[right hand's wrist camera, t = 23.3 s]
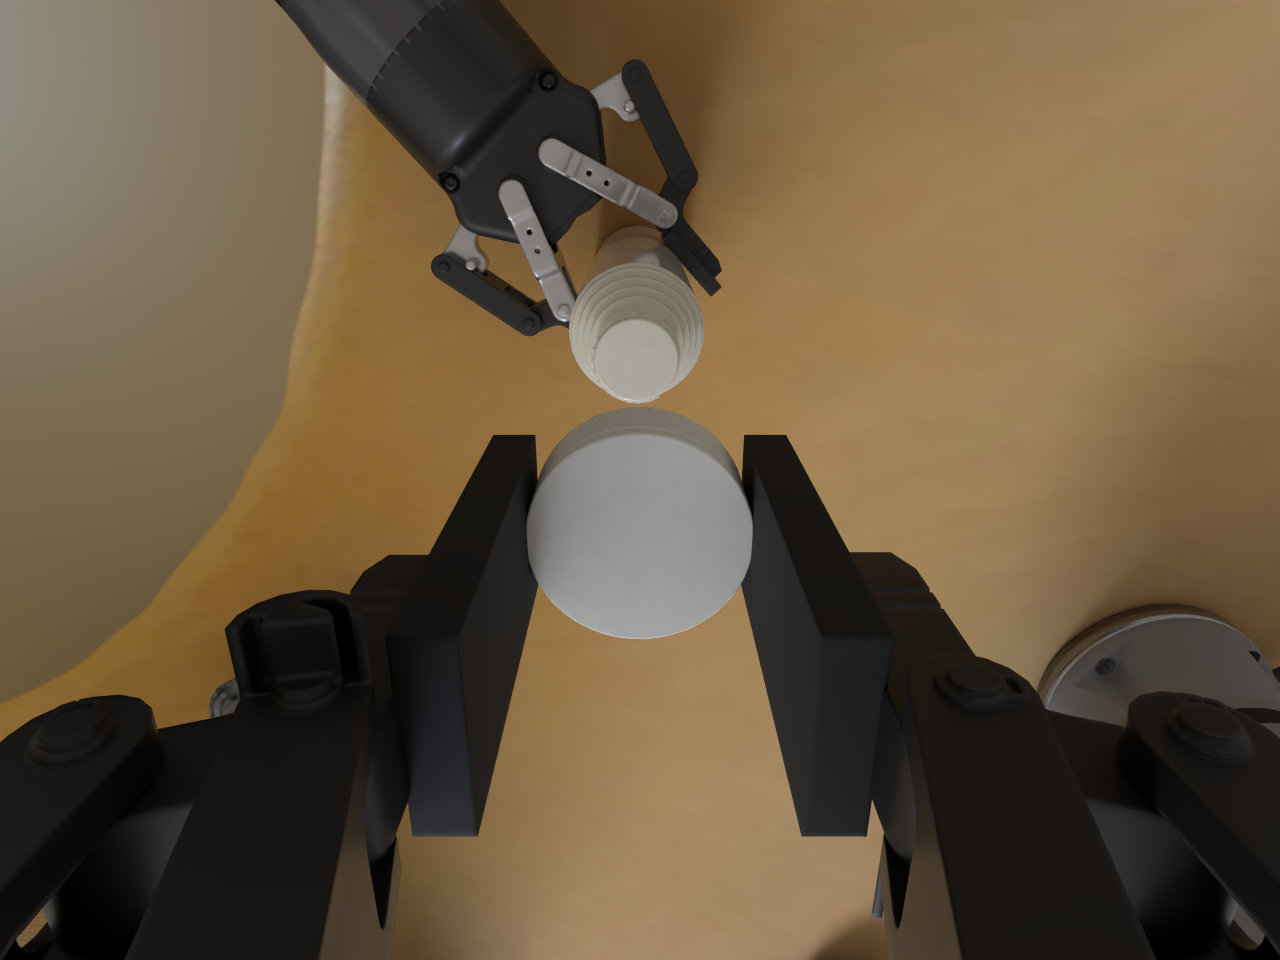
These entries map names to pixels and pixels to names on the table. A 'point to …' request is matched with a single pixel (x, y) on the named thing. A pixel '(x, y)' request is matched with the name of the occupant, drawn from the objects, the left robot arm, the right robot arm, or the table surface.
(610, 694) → the table surface
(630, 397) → the bottle
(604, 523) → the cap
